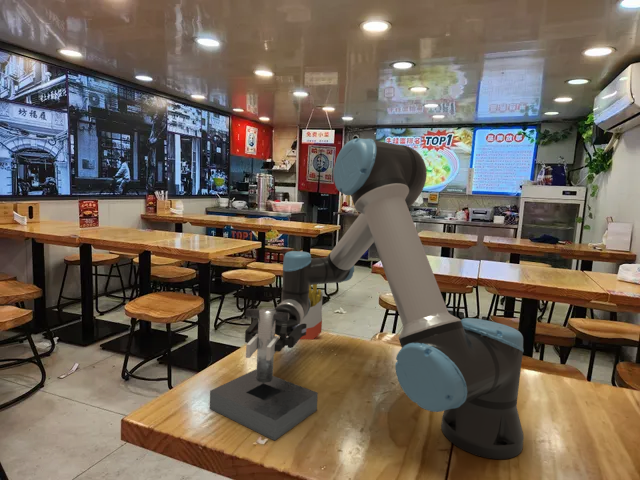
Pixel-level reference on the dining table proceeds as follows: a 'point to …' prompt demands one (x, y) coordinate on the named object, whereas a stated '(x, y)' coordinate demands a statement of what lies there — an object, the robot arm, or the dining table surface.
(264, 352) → the chuck key
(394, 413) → the dining table surface
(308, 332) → the french fries container
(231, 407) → the block
